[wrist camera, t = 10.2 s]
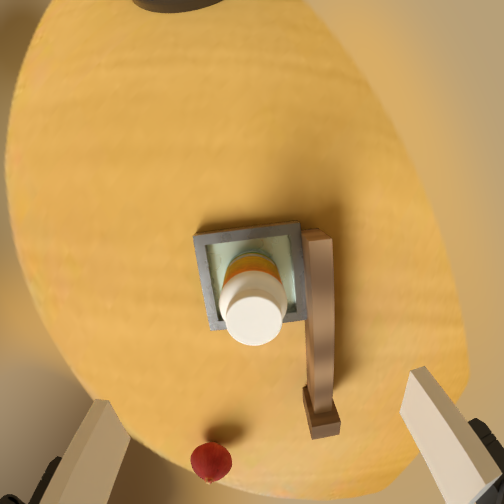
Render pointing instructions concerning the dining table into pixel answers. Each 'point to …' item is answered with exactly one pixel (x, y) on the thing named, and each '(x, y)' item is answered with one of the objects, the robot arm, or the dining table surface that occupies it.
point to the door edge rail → (319, 334)
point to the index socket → (243, 240)
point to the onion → (211, 462)
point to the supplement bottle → (253, 298)
